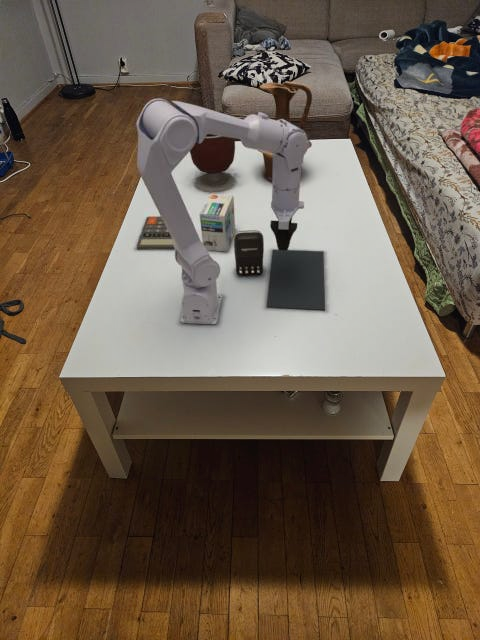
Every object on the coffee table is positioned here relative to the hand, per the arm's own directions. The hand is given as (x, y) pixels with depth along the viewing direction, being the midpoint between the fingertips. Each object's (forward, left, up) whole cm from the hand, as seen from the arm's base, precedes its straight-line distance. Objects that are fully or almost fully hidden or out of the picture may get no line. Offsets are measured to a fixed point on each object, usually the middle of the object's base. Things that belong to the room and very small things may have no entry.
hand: (283, 239), depth 104 cm
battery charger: (0, +8, -10) cm, 13 cm away
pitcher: (+52, +2, -10) cm, 53 cm away
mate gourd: (+46, +24, -10) cm, 53 cm away
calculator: (+16, +33, -10) cm, 39 cm away
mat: (-1, -4, -10) cm, 11 cm away
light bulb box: (+14, +17, -10) cm, 25 cm away
